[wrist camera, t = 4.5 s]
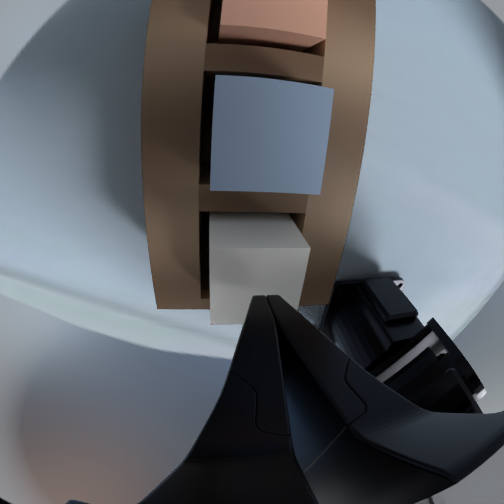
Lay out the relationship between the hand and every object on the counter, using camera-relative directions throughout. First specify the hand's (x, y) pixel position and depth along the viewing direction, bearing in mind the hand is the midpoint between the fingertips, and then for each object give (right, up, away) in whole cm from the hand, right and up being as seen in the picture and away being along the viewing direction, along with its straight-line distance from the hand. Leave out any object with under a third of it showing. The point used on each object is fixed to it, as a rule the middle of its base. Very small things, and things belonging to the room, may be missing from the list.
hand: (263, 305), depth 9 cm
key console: (-1, +8, +4) cm, 9 cm away
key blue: (0, +7, +1) cm, 7 cm away
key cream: (-1, +2, +4) cm, 5 cm away
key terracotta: (0, +11, 0) cm, 11 cm away
